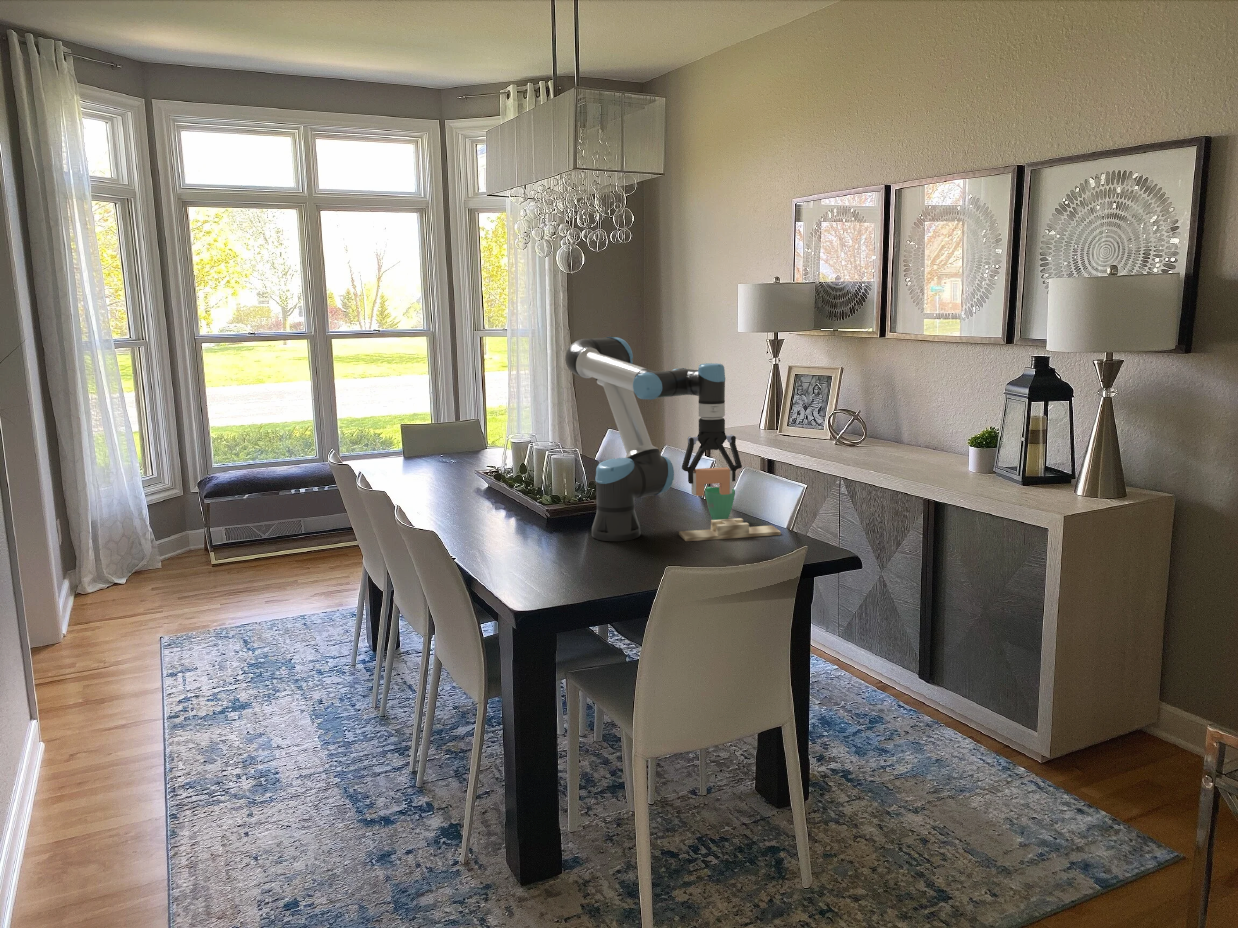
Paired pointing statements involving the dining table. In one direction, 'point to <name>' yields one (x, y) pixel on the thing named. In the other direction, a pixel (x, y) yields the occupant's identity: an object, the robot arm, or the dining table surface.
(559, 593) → the dining table surface
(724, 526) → the rail
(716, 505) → the green tapered cup
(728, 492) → the clip
